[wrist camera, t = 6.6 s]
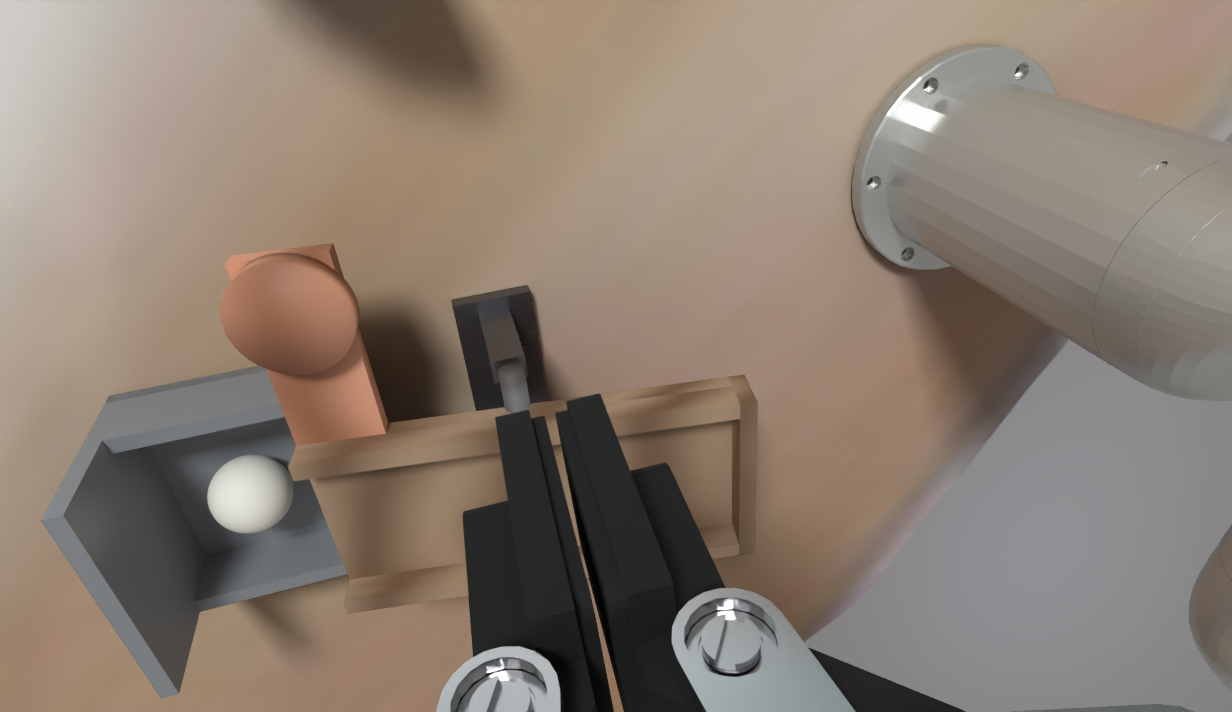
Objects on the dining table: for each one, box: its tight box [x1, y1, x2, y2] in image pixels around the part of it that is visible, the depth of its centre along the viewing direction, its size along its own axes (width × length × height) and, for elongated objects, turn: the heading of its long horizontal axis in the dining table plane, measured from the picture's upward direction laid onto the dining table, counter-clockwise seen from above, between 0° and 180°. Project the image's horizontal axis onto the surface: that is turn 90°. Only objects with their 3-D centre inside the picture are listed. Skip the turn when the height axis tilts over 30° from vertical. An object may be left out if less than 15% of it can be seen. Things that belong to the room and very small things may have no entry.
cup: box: [41, 366, 347, 698], centre depth 37 cm, size 12×12×9 cm
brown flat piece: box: [220, 243, 758, 614], centre depth 35 cm, size 21×21×3 cm
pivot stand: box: [452, 285, 547, 411], centre depth 41 cm, size 4×15×6 cm, turn 6°
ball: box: [207, 454, 294, 533], centre depth 39 cm, size 4×4×4 cm
